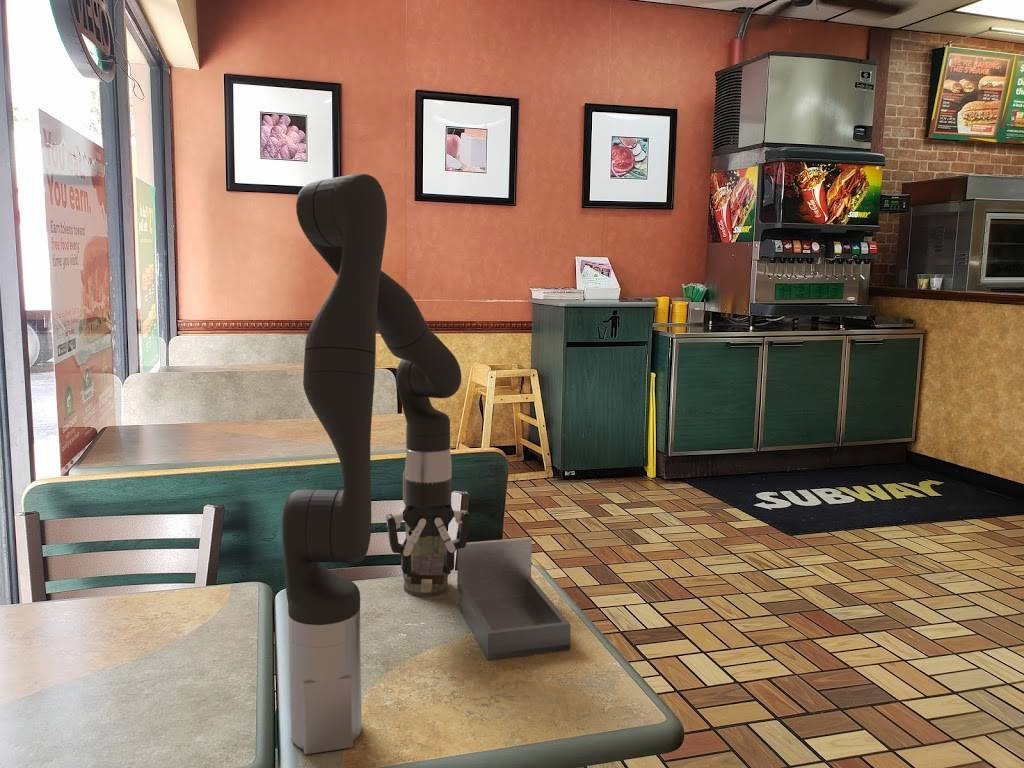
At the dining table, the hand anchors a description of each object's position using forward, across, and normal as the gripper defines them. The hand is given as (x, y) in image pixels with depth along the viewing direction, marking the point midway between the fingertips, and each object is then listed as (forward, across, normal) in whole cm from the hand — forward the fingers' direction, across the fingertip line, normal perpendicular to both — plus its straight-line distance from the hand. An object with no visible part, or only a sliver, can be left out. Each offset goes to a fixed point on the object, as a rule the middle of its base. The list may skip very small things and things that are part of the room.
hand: (428, 573), depth 133 cm
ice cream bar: (+1, 0, 0) cm, 1 cm away
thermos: (+11, +4, +23) cm, 26 cm away
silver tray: (+11, +15, +2) cm, 19 cm away
